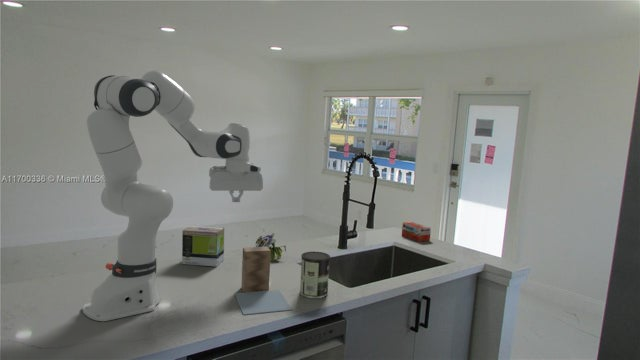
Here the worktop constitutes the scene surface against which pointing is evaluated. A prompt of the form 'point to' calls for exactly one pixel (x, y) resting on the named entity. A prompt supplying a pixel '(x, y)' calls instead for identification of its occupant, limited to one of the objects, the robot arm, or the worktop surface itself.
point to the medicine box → (416, 231)
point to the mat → (262, 302)
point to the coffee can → (314, 274)
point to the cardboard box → (255, 269)
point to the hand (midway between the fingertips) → (235, 202)
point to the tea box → (203, 245)
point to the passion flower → (270, 245)
